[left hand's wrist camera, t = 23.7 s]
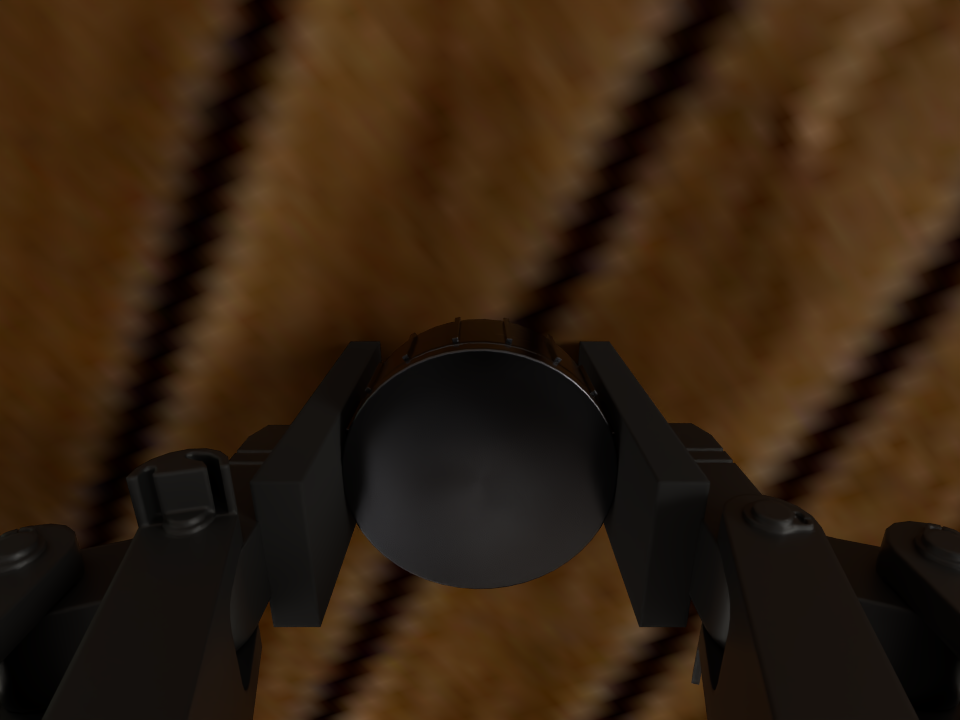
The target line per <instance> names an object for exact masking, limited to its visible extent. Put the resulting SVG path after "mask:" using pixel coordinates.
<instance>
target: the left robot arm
mask: <svg viewBox="0 0 960 720" xmlns="http://www.w3.org/2000/svg"><path fill="white" fill-rule="evenodd" d="M379 362H381V350H380V342H350V343H349V345H348V346H347V347H346V349H345V350H344V352H343V353H342V354H341V356H340V357H339V358H338V360H337V361H336V363H335V364H334V365H333V367H332V368H331V370H330V371H329V372H328V374H327V375H326V377H325V378H324V379H323V381H322V382H321V383H320V385H319V386H318V388H317V389H316V390H315V392H314V393H313V395H312V396H311V397H310V399H309V400H308V402H307V403H306V404H305V406H304V407H303V408H302V410H301V411H300V413H299V414H298V415H297V417H296V418H295V420H294V421H293V422H292V424H291V425H268V426H266V427H265V428H263V429H261V430H259V431H258V432H256V433H254V434H253V435H251V436H249V437H248V438H247V440H246V441H245V442H244V443H243V444H242V446H241V447H240V448H239V449H238V450H237V453H235V454H234V455H233V456H232V457H231V459H230V460H228V456H226V455H225V454H223V453H222V452H221V451H217V450H212V449H207V448H202V449H186V450H181V451H176V452H171V453H168V454H165V455H162V456H159V457H156V458H154V459H151V460H149V461H147V462H146V463H144V464H142V465H140V466H139V467H137V468H135V469H134V470H133V471H132V472H131V473H130V474H129V475H128V476H127V477H126V480H127V484H128V488H129V492H130V496H131V500H132V503H133V507H134V511H135V515H136V519H137V523H138V527H139V528H138V530H137V532H136V534H135V536H134V538H133V539H130V540H126V541H121V542H116V543H111V544H106V545H100V546H95V547H90V548H85V549H80V548H79V544H78V541H77V538H76V535H75V532H74V531H73V530H72V529H70V528H69V527H67V526H65V525H58V524H44V525H36V526H27V527H22V528H20V529H19V530H18V529H15V530H12V531H9V532H6V533H4V534H2V535H1V536H0V720H253V713H254V705H255V698H256V690H257V682H258V674H259V666H260V659H261V651H262V644H261V636H260V631H259V625H258V623H259V621H260V619H261V616H262V614H263V612H264V610H265V608H266V606H267V604H268V602H269V601H270V607H271V613H272V619H273V625H274V627H321V624H322V621H323V618H324V615H325V612H326V609H327V606H328V604H329V601H330V598H331V595H332V592H333V589H334V586H335V583H336V580H337V577H338V574H339V571H340V569H341V566H342V563H343V560H344V557H345V554H346V551H347V548H348V545H349V542H350V539H351V537H352V534H353V531H354V528H355V525H356V521H355V520H354V517H353V515H352V513H351V511H350V508H349V506H348V503H347V500H346V496H345V493H344V487H343V478H342V454H343V448H344V443H345V440H346V437H347V434H345V431H346V428H347V426H348V424H349V422H350V420H351V418H352V416H353V414H354V412H355V410H356V408H357V406H358V404H359V402H360V400H363V399H364V397H365V395H366V393H367V392H365V389H366V387H367V385H368V383H369V381H370V379H371V377H372V375H373V373H374V371H375V369H376V367H377V365H378V364H379ZM581 365H583V367H584V368H585V370H586V372H587V374H588V376H589V378H590V380H591V382H592V384H593V386H594V388H595V390H596V392H597V394H598V395H596V396H595V397H596V399H597V401H598V403H600V404H601V406H602V408H603V410H604V412H605V414H606V416H607V418H608V420H609V422H610V424H611V426H612V428H613V430H614V433H615V435H614V440H615V444H616V449H617V455H618V476H617V486H616V492H615V496H614V500H613V503H612V505H611V508H610V510H609V513H608V515H607V517H606V519H605V521H604V525H605V528H606V531H607V534H608V537H609V540H610V543H611V546H612V549H613V552H614V554H615V557H616V560H617V563H618V566H619V569H620V572H621V575H622V578H623V581H624V584H625V587H626V589H627V592H628V595H629V598H630V601H631V604H632V607H633V610H634V613H635V616H636V619H637V621H638V624H639V627H686V624H687V618H688V612H689V606H690V600H691V599H692V602H693V604H694V606H695V608H696V610H697V612H698V614H699V616H700V618H701V620H702V625H701V631H700V636H699V642H698V647H697V653H696V658H695V664H694V669H693V676H692V683H694V684H698V685H699V682H700V677H701V673H702V681H703V688H704V696H705V704H706V712H707V720H960V533H959V532H958V531H956V530H954V529H951V528H948V527H944V526H943V527H941V526H940V525H936V524H932V523H921V522H913V521H907V522H899V523H894V524H892V525H891V526H890V527H888V528H887V529H886V531H885V534H884V537H883V541H882V544H881V547H878V546H872V545H867V544H862V543H857V542H852V541H847V540H841V539H836V538H832V537H828V536H826V535H825V533H824V531H823V529H822V527H821V526H820V525H819V524H818V522H817V521H816V520H815V519H814V518H813V516H811V515H810V514H808V513H807V512H805V511H804V510H802V509H801V508H799V507H798V506H796V505H793V504H791V503H789V502H786V501H784V500H782V499H778V498H774V497H770V496H765V495H762V494H761V493H760V492H759V491H758V489H757V488H756V487H755V486H754V485H753V484H752V482H751V481H750V480H749V479H748V478H747V477H746V475H745V474H744V473H743V472H742V471H741V469H740V468H739V467H738V466H737V465H736V464H735V463H733V462H732V459H731V458H730V456H729V455H728V454H727V453H726V452H725V451H723V448H722V447H721V446H720V445H719V443H718V442H717V441H716V440H715V439H714V438H713V436H712V435H710V434H709V433H707V432H705V431H704V430H702V429H700V428H699V427H697V426H695V425H694V424H692V423H667V421H666V420H665V418H664V417H663V416H662V414H661V413H660V412H659V410H658V409H657V407H656V406H655V405H654V403H653V402H652V400H651V399H650V398H649V396H648V395H647V393H646V392H645V391H644V389H643V388H642V387H641V385H640V384H639V382H638V381H637V380H636V378H635V377H634V375H633V374H632V373H631V371H630V370H629V368H628V367H627V366H626V364H625V363H624V362H623V360H622V359H621V357H620V356H619V355H618V353H617V352H616V350H615V349H614V348H613V346H612V345H611V343H610V342H580V347H579V362H578V367H579V366H581Z"/></svg>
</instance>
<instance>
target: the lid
mask: <svg viewBox="0 0 960 720" xmlns="http://www.w3.org/2000/svg"><path fill="white" fill-rule="evenodd" d="M365 392H367V393H366V395H365V397H364V399H363V400H360V402H359V404H358V406H357V408H356V410H355V412H354V414H353V416H352V418H351V420H350V422H349V424H348V426H347V428H346V431H345V434H347V437H346V440H345V443H344V448H343V454H342V478H343V487H344V493H345V496H346V500H347V503H348V506H349V508H350V511H351V513H352V515H353V517H354V520H355V521H356V523H357V524H358V526H359V528H360V529H361V531H362V532H363V534H364V535H365V536H366V537H367V539H368V540H369V541H370V542H371V543H372V545H373V546H374V547H376V548H377V549H378V550H379V551H380V552H381V553H382V554H383V555H384V556H385V557H387V558H388V559H389V560H391V561H392V562H394V563H395V564H396V565H398V566H399V567H401V568H403V569H405V570H407V571H408V572H410V573H412V574H414V575H417V576H419V577H421V578H424V579H426V580H429V581H432V582H436V583H439V584H442V585H448V586H453V587H458V588H470V589H492V588H500V587H508V586H512V585H517V584H521V583H525V582H528V581H530V580H533V579H536V578H539V577H541V576H543V575H545V574H547V573H550V572H552V571H554V570H555V569H557V568H559V567H560V566H562V565H563V564H565V563H567V562H568V561H569V560H571V559H572V558H573V557H574V556H575V555H577V554H578V553H579V552H580V551H581V550H582V549H583V548H584V547H585V546H586V545H587V544H588V543H589V542H590V541H591V540H592V539H593V537H594V536H595V535H596V533H597V532H598V530H599V529H600V528H601V526H602V524H603V522H604V521H605V519H606V517H607V515H608V513H609V510H610V508H611V505H612V503H613V500H614V496H615V492H616V486H617V476H618V455H617V449H616V444H615V440H614V435H615V433H614V430H613V428H612V426H611V424H610V422H609V420H608V418H607V416H606V414H605V412H604V410H603V408H602V406H601V404H600V403H598V401H597V399H596V397H595V396H596V395H598V394H597V392H596V390H595V388H594V386H593V384H592V382H591V380H590V378H589V376H588V374H587V372H586V370H585V368H584V367H583V365H581V366H579V367H578V365H577V364H576V363H575V362H574V360H573V359H572V358H571V357H570V356H569V355H568V354H567V353H566V352H565V351H564V350H563V349H562V348H561V347H559V346H558V345H557V344H555V342H554V340H553V337H552V336H550V335H548V336H547V337H545V336H543V335H541V334H539V333H537V332H535V331H533V330H531V329H528V328H525V327H523V326H520V325H517V324H513V323H509V319H507V318H504V319H503V321H498V320H488V319H472V320H462V321H461V318H460V317H458V318H455V322H450V323H447V324H443V325H440V326H437V327H434V328H432V329H429V330H427V331H425V332H422V333H420V334H419V335H416V333H413V334H411V336H410V338H409V341H407V342H406V343H405V344H403V345H402V346H401V347H400V348H398V349H397V350H396V351H395V352H394V353H393V354H392V355H391V356H390V357H389V358H388V359H387V360H386V361H385V362H384V364H383V363H381V362H379V364H378V365H377V367H376V369H375V371H374V373H373V375H372V377H371V379H370V381H369V383H368V385H367V387H366V389H365Z"/></svg>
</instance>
